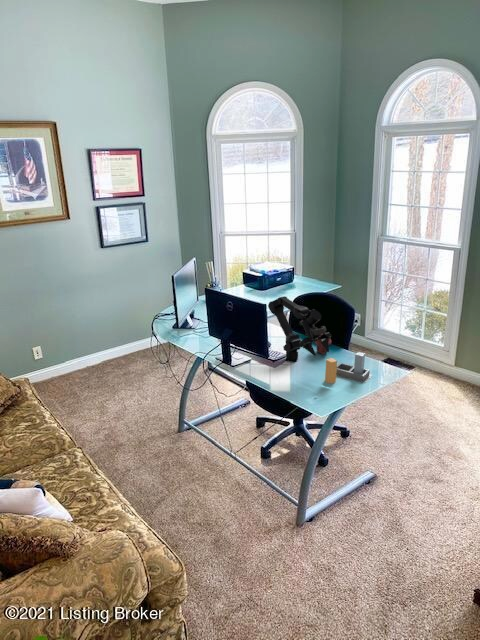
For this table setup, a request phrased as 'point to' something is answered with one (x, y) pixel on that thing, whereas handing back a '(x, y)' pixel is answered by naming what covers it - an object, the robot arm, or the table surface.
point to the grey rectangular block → (359, 363)
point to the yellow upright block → (331, 370)
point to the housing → (352, 373)
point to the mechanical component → (321, 346)
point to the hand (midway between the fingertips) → (321, 353)
